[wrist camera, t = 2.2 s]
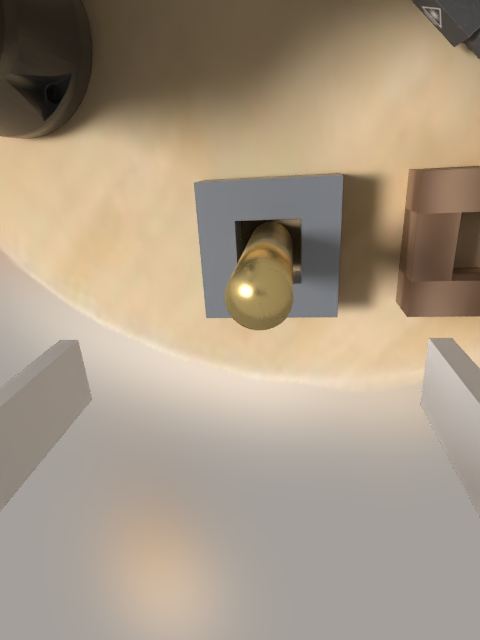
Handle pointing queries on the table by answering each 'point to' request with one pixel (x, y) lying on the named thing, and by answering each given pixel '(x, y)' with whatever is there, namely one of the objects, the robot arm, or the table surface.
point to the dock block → (437, 244)
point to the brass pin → (262, 279)
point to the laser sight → (455, 20)
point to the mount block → (268, 204)
